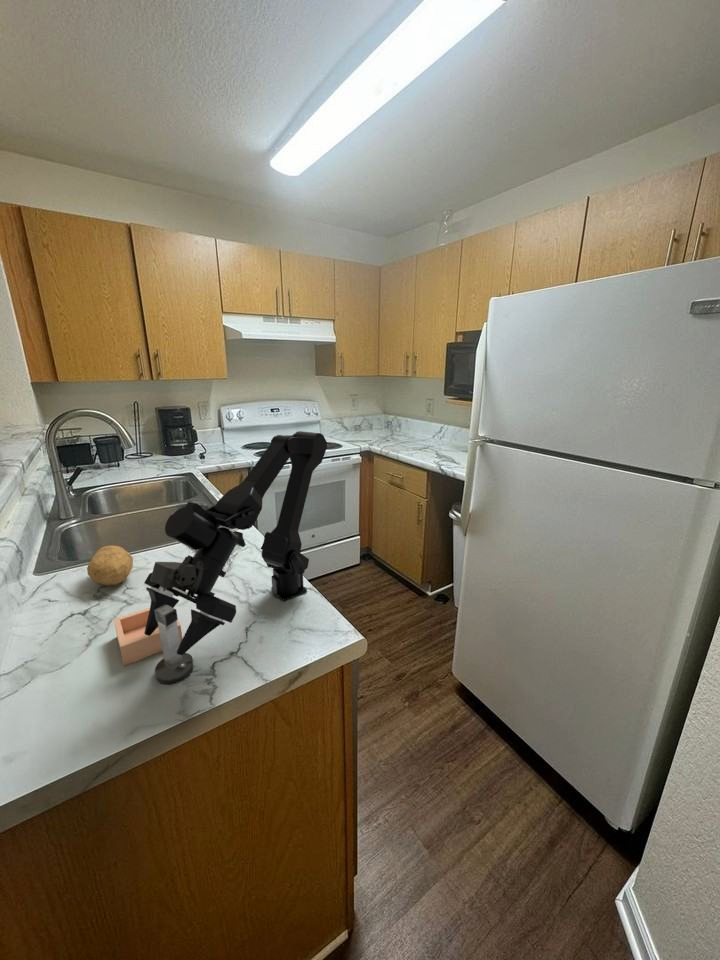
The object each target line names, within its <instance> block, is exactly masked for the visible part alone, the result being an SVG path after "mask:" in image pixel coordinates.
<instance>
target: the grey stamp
mask: <svg viewBox="0 0 720 960" xmlns="http://www.w3.org/2000/svg"><path fill="white" fill-rule="evenodd" d="M154 611H155V617H156V621H158V627H159V633H160V639H161V645H162V651H161V652H162V654H163V656H162V657H163V658H162V659H160V660H159V661H158V663H157V664H156V666H155V667H154V673H155V679H156V682H157V683H159V684H161V685H163V686H164V685H166V686H167V685H168V686H170V685H174V684H178V683H180V682H182V681H184V680H186V679H187V678H188V677H189V676H190V675H191V674H192V673H193V670H194V668H195V666H194V659H193V657H192V655H191V654H190V653H188V652H185V653H184V654H183V655H179V654H177V650H178V648H179V645H180V639H179V633H178V626H177V620H178V621H179V618H178V611H177V609H176V608H175V607H174V608H172V607H170V606H168V605H166V604H165V605H163V606H161V607H159V608H157V609H155V610H154Z"/></svg>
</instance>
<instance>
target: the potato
mask: <svg viewBox="0 0 720 960" xmlns="http://www.w3.org/2000/svg"><path fill="white" fill-rule="evenodd" d="M133 565H134V557H133V556H132V555H131V553H130V552H128V551H127V550H125V549H124V548H123V547H122V546H118V545H105V546H103V547H100V548H99V549H98V550H96V552H95V553H94V555H93V557H92V558H91V560H90V561H89V562H88V565H87V566H86V567H87V568H86V569H87V570H86V571H87V575H88V577H89V578H90V579H91V580H92V581H93V582H94V583H95V582H96V583H99V584H101V585H104V586H116V585H118V584H121V583H123V582H124V581H126V580H127V578H128V577H129V575H130V573H132V570H133Z"/></svg>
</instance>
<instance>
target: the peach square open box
mask: <svg viewBox="0 0 720 960" xmlns="http://www.w3.org/2000/svg"><path fill="white" fill-rule="evenodd" d="M149 611H150V607H147V608H144V609H142V610H138V611H135V612H132V613H129V614H126V615H122V616H120V617H117V618H114V619H113V623H114V629H115V634H116V638H117V642H118V647H119V651H120V654H121V660H122V663H123V666H124V667H125V666H128V665H130V664H133V663H135V662H137V661H141V660H142V659H145V658H148V657H151V656H153V655H156V654H157V653H162V652H163V651H162V645H161V639H160V633H159V627H157V629H156V630H155V631H154V632H153V633H152V634H151V635H150V636H148V635H145V634H144V632H145V628H146V624H147V619H148V615H149ZM177 626H178V633H179V639H180V643H181V641H182V639H183V634H182V633H183V632H182V627H181V624H180V621H179V619H178V620H177Z"/></svg>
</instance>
